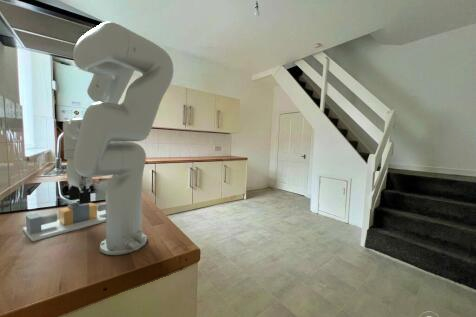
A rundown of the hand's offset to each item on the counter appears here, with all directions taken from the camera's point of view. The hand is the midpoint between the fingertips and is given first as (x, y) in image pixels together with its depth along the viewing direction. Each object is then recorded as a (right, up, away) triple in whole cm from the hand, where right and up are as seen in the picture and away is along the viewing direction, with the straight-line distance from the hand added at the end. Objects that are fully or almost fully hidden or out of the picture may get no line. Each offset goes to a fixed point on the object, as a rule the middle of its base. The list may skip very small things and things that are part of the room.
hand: (79, 201), depth 74 cm
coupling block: (-1, -7, +1) cm, 7 cm away
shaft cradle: (-1, -8, +1) cm, 9 cm away
